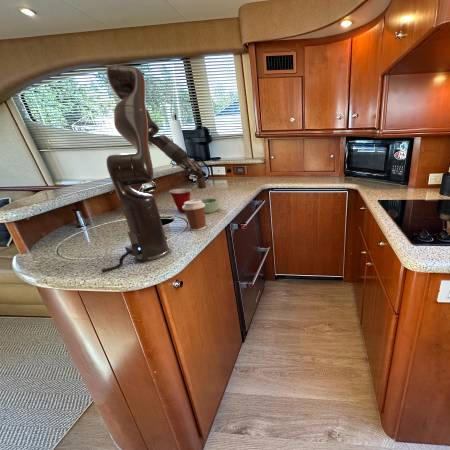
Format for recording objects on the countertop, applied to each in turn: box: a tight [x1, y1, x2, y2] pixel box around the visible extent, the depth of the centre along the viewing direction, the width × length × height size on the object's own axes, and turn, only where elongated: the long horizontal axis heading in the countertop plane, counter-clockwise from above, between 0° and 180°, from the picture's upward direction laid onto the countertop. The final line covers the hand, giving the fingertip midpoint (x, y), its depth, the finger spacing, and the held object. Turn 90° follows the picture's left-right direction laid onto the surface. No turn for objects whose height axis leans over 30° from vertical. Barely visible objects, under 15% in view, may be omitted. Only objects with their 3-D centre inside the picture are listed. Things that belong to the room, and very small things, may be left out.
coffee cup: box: [182, 199, 207, 232], centre depth 103 cm, size 9×9×12 cm
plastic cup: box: [168, 188, 192, 213], centre depth 131 cm, size 11×11×12 cm
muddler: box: [195, 168, 207, 190], centre depth 124 cm, size 4×4×10 cm
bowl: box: [200, 197, 220, 215], centre depth 130 cm, size 13×13×6 cm
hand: (203, 176), depth 123 cm, fingers closed on muddler, 4 cm apart
